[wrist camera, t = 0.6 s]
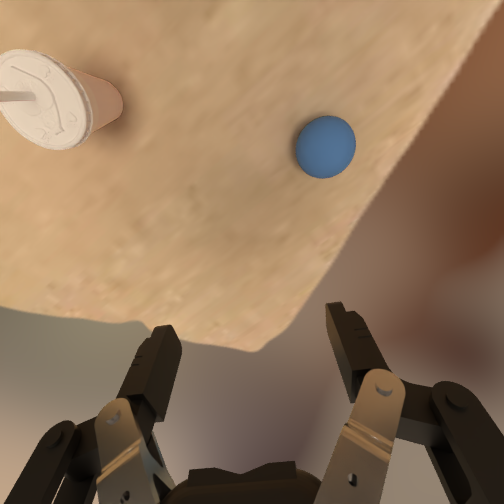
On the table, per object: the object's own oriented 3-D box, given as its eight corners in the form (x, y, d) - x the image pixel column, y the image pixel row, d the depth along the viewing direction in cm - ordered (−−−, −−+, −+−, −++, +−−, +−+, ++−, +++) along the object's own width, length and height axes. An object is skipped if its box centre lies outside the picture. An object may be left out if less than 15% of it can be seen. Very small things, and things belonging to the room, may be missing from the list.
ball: (289, 119, 27) (298, 125, 22) (345, 108, 27) (367, 112, 22) (294, 174, 30) (302, 190, 25) (344, 165, 30) (363, 180, 25)
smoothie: (110, 50, 24) (-24, 10, 12) (148, 120, 27) (70, 142, 15) (58, 79, 25) (-111, 67, 13) (100, 143, 28) (-6, 179, 17)
